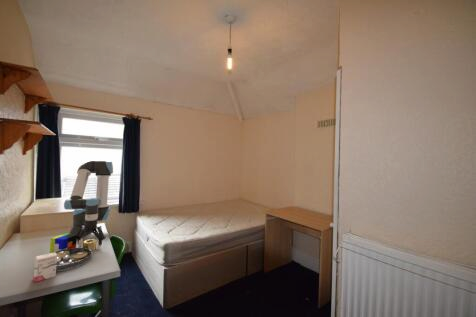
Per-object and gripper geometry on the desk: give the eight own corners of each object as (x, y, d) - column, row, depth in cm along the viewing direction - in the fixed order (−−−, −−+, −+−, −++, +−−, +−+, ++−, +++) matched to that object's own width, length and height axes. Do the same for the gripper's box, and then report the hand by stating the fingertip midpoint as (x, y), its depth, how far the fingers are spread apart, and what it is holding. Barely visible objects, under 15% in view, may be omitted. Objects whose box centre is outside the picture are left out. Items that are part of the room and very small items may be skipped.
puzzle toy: (62, 254, 139) (63, 239, 139) (49, 252, 140) (50, 238, 140) (76, 248, 149) (77, 234, 149) (64, 247, 150) (65, 233, 150)
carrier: (62, 252, 142) (63, 244, 142) (100, 253, 142) (101, 245, 142) (24, 271, 116) (25, 261, 116) (70, 273, 116) (71, 263, 116)
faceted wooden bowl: (87, 247, 152) (88, 238, 152) (98, 247, 152) (99, 239, 152) (79, 251, 144) (80, 243, 144) (91, 252, 144) (91, 243, 144)
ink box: (33, 282, 106) (35, 259, 107) (32, 279, 109) (34, 256, 110) (56, 276, 113) (57, 254, 113) (54, 273, 116) (56, 251, 116)
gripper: (70, 220, 145) (67, 250, 144) (105, 221, 145) (103, 252, 144) (78, 217, 152) (76, 246, 152) (111, 218, 153) (109, 247, 152)
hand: (89, 249), depth 148 cm, fingers open, 13 cm apart
